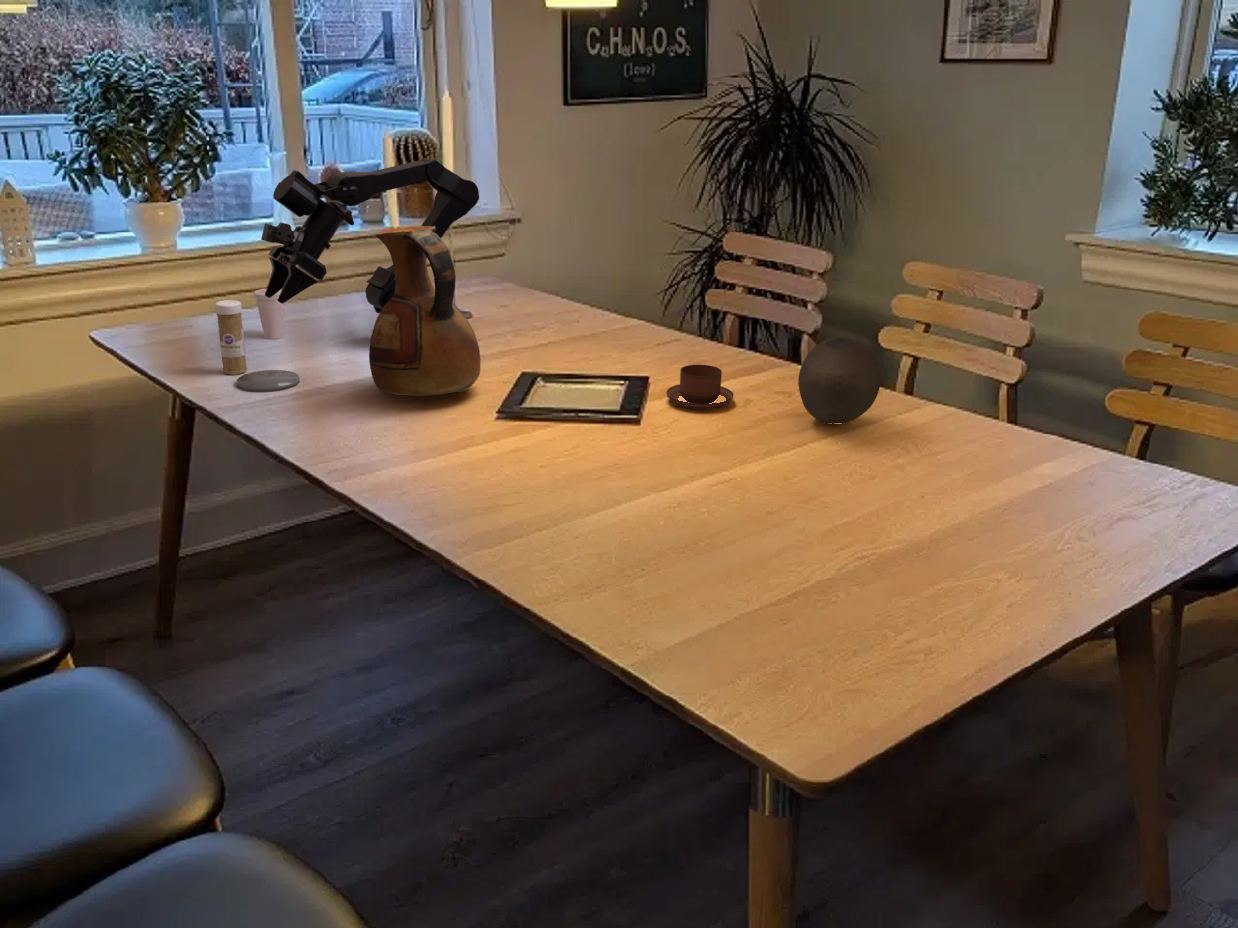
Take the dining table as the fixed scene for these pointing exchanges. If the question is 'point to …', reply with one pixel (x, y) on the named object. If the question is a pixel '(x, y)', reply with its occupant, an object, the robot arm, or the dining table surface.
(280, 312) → the smoothie
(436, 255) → the ceramic pitcher
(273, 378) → the slate gray plate
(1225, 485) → the dining table surface
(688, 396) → the cup and saucer
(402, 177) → the robot arm
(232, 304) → the sprinkles bottle
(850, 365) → the dark charcoal ball
